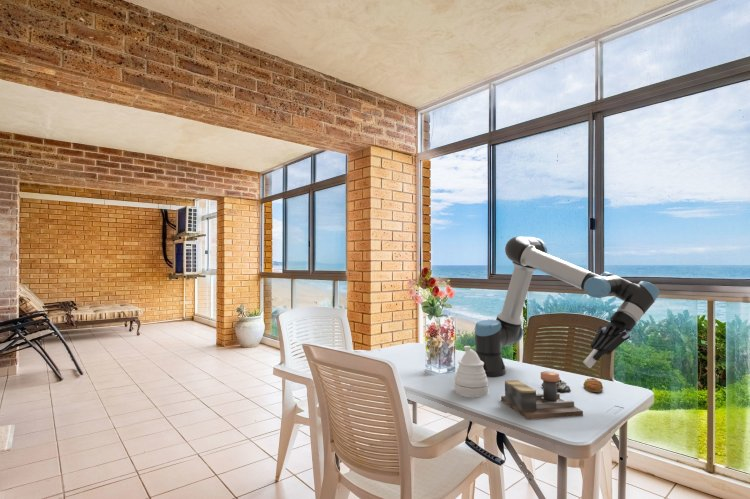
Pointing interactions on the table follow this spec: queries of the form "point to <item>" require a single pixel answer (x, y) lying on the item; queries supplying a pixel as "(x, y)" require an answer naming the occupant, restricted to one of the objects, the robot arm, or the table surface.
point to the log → (562, 387)
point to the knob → (549, 386)
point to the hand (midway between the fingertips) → (586, 365)
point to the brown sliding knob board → (536, 403)
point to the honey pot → (471, 376)
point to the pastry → (593, 385)
